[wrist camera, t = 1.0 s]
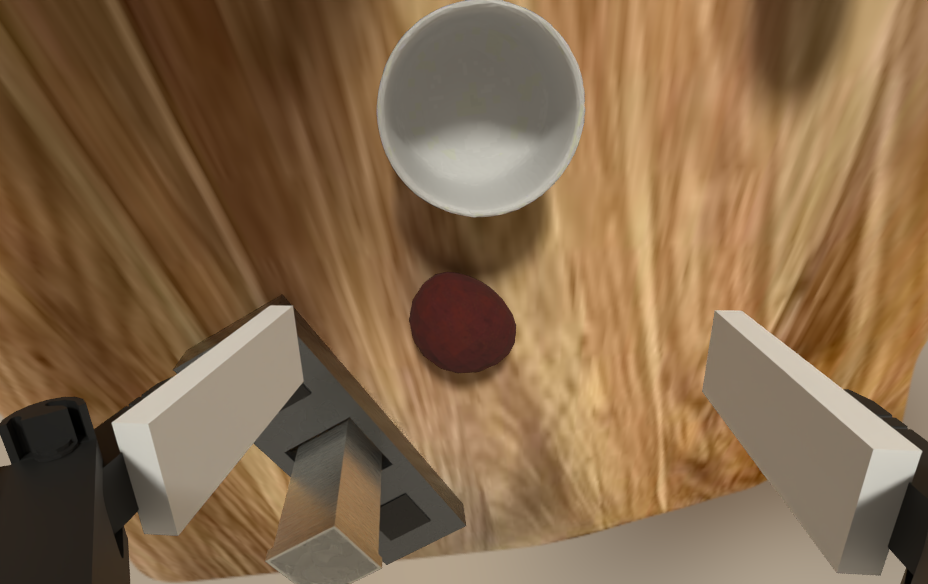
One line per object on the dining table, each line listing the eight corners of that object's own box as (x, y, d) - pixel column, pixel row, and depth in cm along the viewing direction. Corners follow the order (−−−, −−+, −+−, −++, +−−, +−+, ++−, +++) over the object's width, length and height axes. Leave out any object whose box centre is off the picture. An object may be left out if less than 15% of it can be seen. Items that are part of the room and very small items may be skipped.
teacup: (518, 198, 35) (549, 235, 28) (369, 166, 33) (361, 198, 26) (582, -20, 29) (641, -44, 22) (407, -77, 27) (411, -124, 20)
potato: (447, 363, 41) (455, 410, 35) (386, 294, 37) (384, 334, 32) (520, 317, 40) (540, 358, 34) (465, 240, 36) (477, 273, 31)
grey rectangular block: (298, 431, 42) (265, 561, 31) (350, 403, 41) (334, 525, 31) (335, 468, 44) (316, 600, 34) (385, 442, 44) (381, 568, 33)
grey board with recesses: (186, 350, 37) (172, 370, 35) (282, 294, 36) (274, 310, 34) (387, 541, 49) (386, 565, 47) (463, 504, 48) (466, 526, 46)
